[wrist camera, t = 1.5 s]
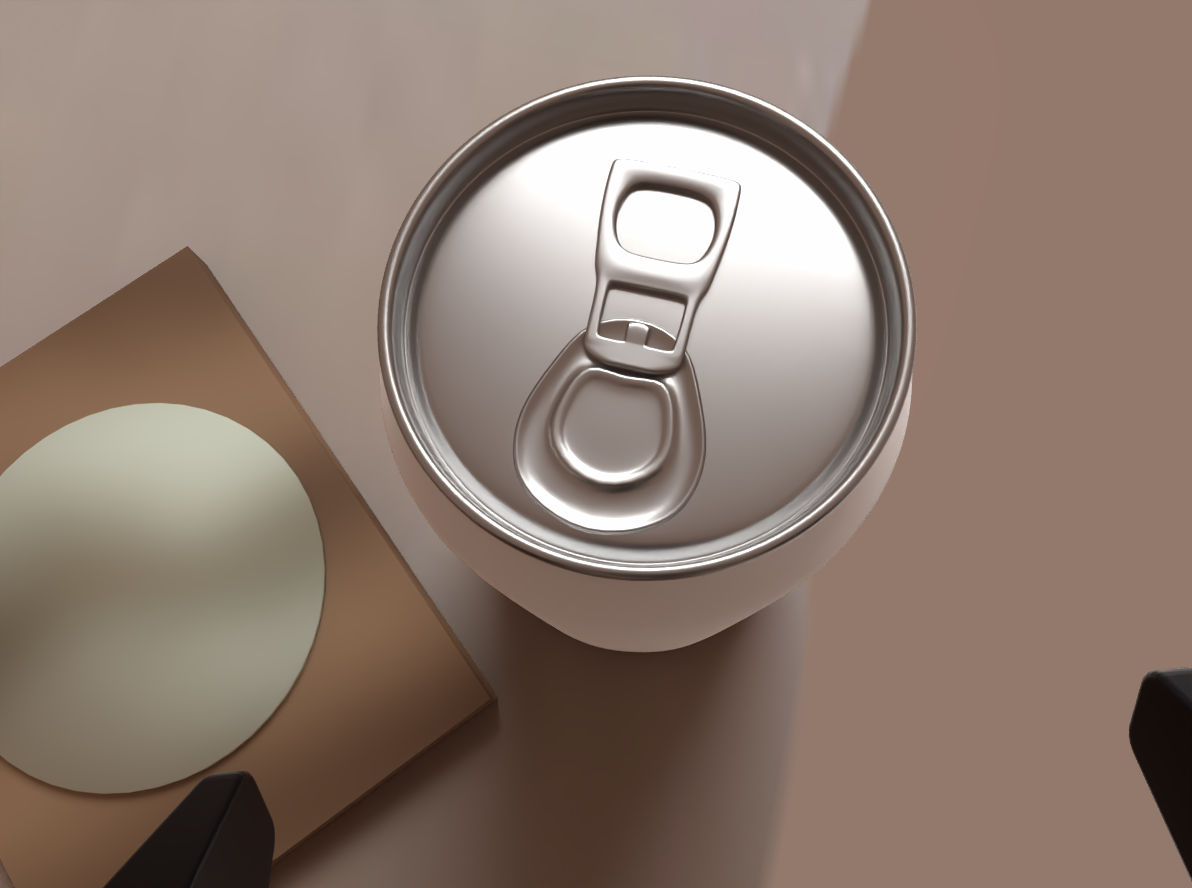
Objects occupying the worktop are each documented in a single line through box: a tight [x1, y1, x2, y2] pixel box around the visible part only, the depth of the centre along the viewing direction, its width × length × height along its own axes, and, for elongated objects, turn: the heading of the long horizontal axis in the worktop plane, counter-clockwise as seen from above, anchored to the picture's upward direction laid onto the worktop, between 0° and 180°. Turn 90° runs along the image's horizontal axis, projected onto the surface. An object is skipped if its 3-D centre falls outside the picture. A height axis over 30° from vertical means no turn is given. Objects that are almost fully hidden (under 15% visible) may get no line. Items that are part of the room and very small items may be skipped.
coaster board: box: [0, 246, 497, 888], centre depth 21 cm, size 13×10×1 cm
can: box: [377, 76, 917, 652], centre depth 15 cm, size 6×6×12 cm
